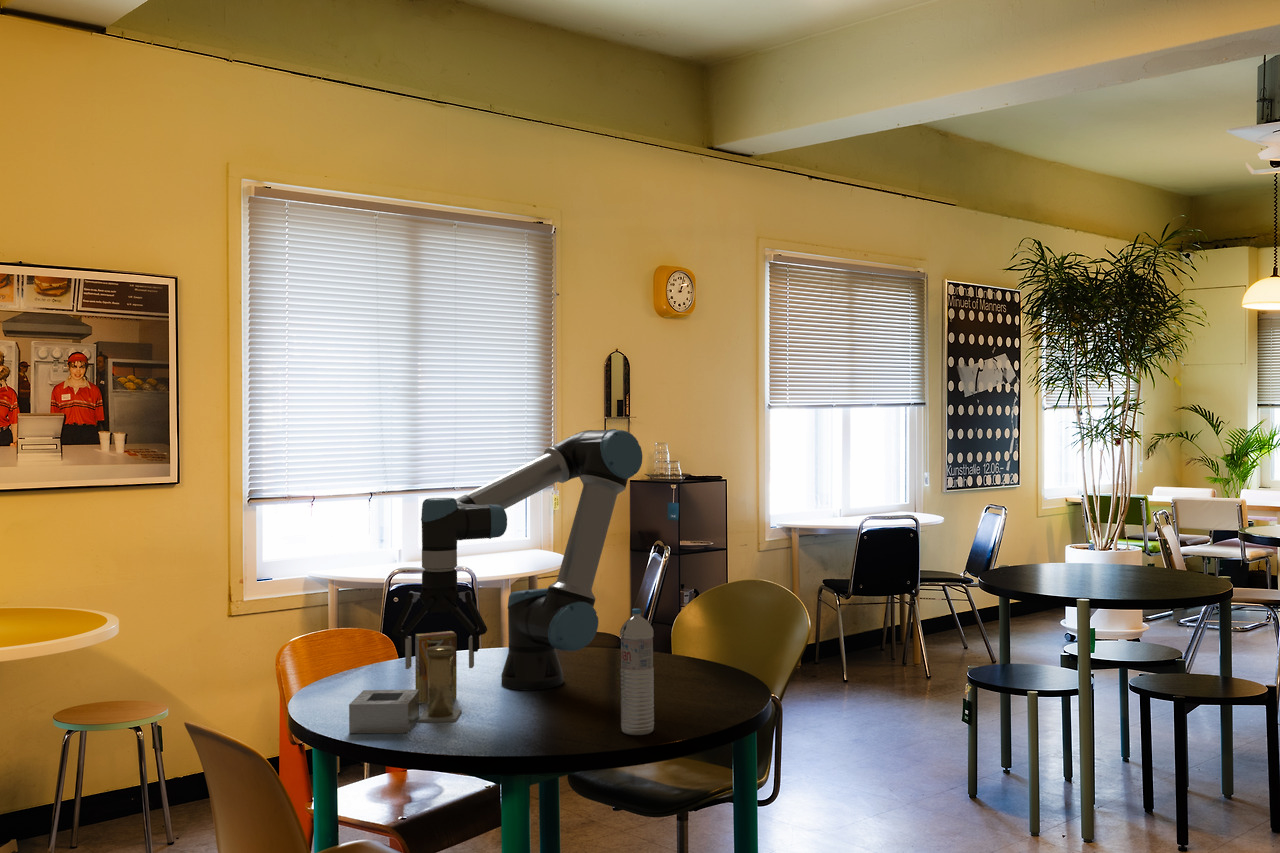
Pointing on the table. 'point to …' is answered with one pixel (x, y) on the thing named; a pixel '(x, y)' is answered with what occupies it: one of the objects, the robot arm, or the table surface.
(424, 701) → the candy box
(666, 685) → the table surface
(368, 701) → the housing
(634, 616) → the water bottle
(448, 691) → the gold metallic cylinder
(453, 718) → the mat
